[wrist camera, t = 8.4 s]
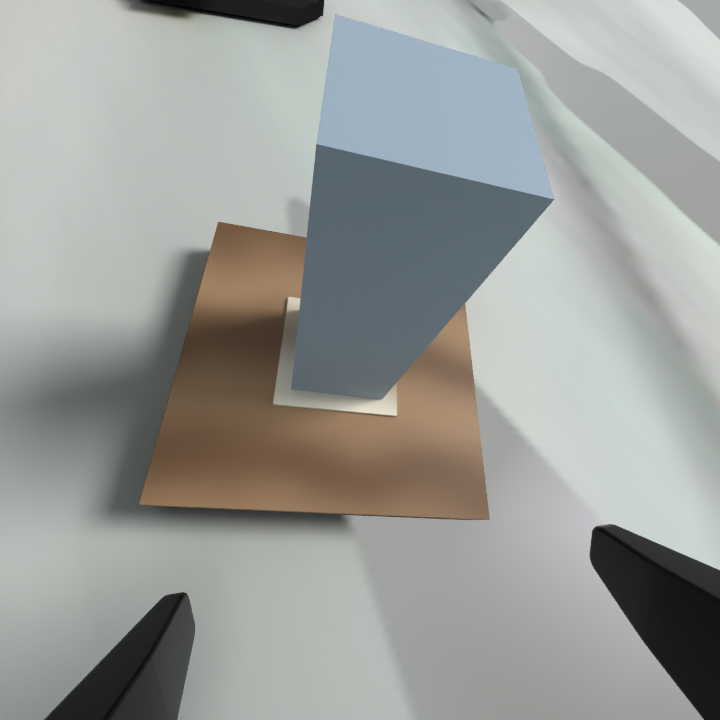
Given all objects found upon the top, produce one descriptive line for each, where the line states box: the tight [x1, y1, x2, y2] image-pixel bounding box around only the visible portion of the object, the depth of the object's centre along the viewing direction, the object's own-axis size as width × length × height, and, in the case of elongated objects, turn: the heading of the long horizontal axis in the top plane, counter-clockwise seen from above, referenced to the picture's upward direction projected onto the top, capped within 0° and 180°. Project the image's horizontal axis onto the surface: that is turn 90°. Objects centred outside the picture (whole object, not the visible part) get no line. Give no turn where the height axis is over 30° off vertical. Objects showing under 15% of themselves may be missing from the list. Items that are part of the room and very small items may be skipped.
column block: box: [291, 14, 554, 399], centre depth 13 cm, size 5×5×13 cm
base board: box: [139, 222, 489, 520], centre depth 20 cm, size 16×16×3 cm
